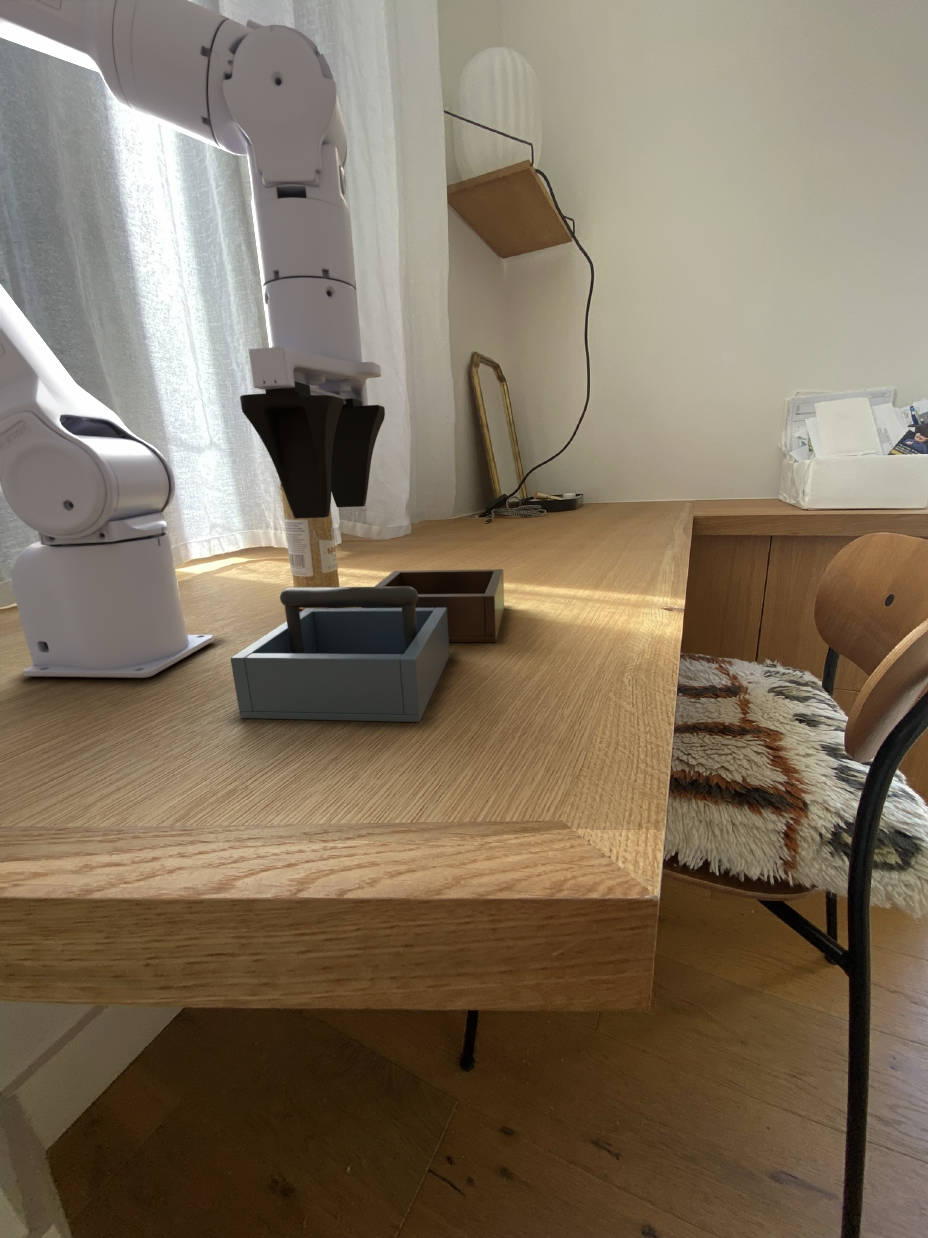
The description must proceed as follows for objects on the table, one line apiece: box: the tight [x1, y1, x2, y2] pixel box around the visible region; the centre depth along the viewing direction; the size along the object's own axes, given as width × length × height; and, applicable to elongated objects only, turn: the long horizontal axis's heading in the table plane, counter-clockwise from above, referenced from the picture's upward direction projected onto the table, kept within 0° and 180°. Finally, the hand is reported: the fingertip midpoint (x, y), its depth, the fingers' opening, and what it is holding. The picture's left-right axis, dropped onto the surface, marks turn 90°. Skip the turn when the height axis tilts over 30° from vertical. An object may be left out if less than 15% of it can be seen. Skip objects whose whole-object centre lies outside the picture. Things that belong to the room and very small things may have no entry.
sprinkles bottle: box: [276, 473, 340, 611], centre depth 52 cm, size 5×5×14 cm
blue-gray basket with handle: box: [230, 586, 450, 723], centre depth 34 cm, size 10×10×6 cm
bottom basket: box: [361, 568, 505, 643], centre depth 46 cm, size 10×10×4 cm
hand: (333, 511), depth 39 cm, fingers open, 7 cm apart
